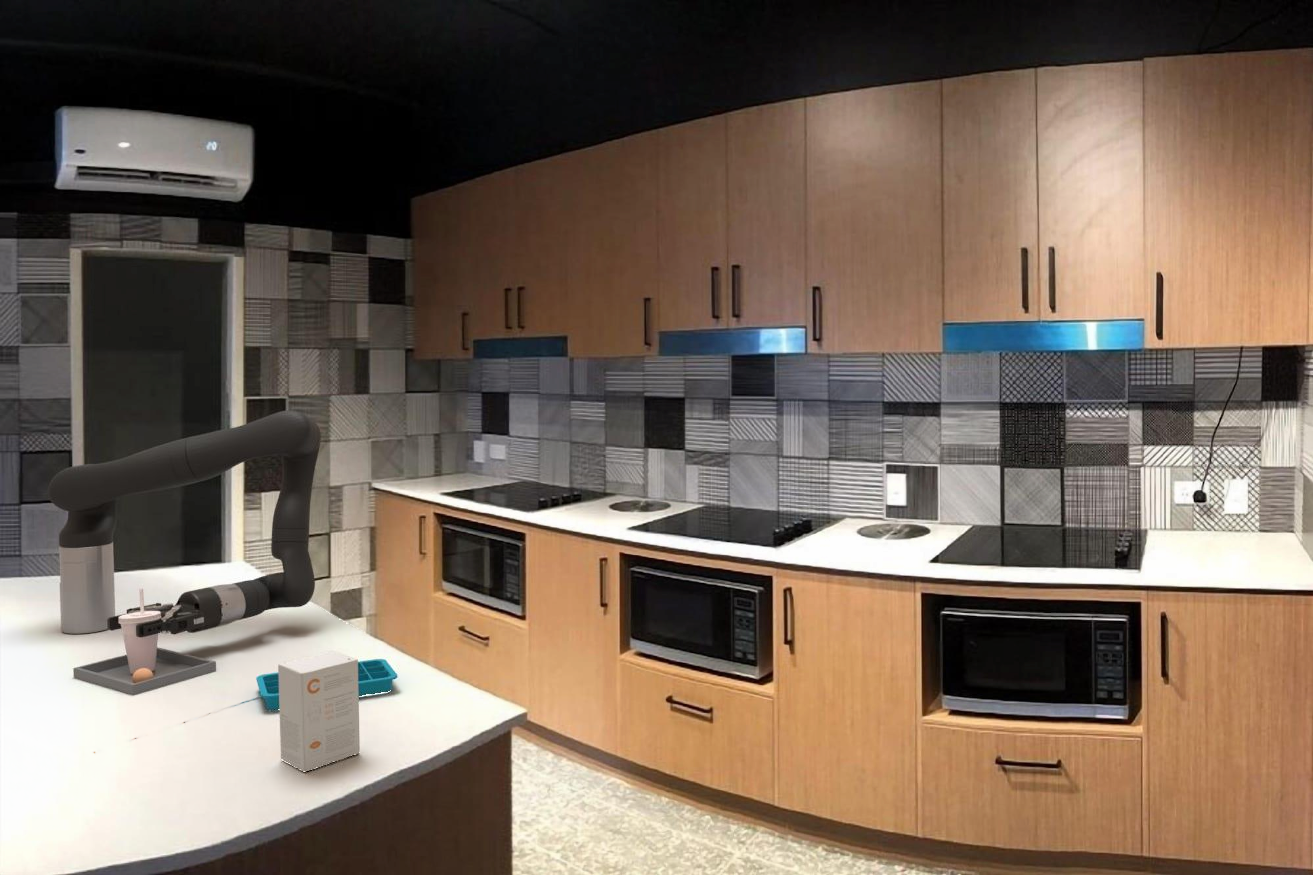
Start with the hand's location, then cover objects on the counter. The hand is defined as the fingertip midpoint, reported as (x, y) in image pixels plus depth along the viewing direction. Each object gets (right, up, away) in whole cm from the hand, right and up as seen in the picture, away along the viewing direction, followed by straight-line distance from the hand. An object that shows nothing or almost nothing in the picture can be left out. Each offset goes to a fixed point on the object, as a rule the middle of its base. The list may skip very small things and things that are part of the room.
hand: (122, 627), depth 151 cm
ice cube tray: (+37, -9, -7) cm, 39 cm away
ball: (+7, -8, -6) cm, 12 cm away
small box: (+46, -11, -33) cm, 57 cm away
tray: (+4, -8, +1) cm, 9 cm away
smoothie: (+2, -8, +2) cm, 8 cm away
